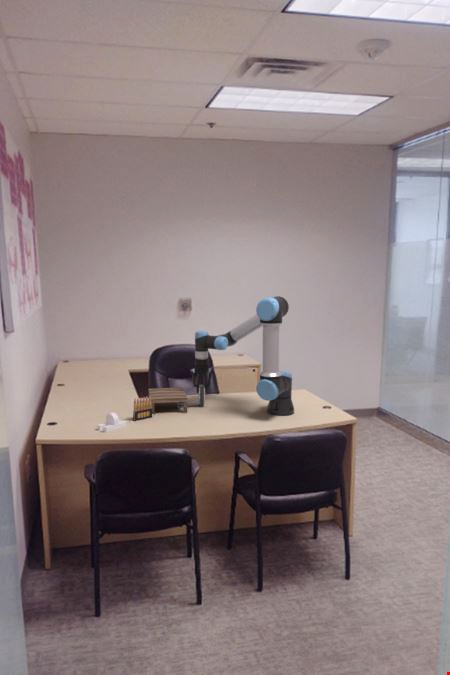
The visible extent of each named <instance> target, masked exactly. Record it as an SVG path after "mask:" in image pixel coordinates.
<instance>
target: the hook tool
mask: <svg viewBox="0 0 450 675" xmlns="http://www.w3.org/2000/svg"><path fill="white" fill-rule="evenodd" d="M199 387H200V399H199V398H198V400H195V401H194V400H192V401H191V400H189V401H188V400H187V405H188V406H189V405H199V407H201V408H203V407H205V399H204V384H199ZM180 405H183V402H176V407H177V409H179V410H180V409H181V408H180Z"/></svg>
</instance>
